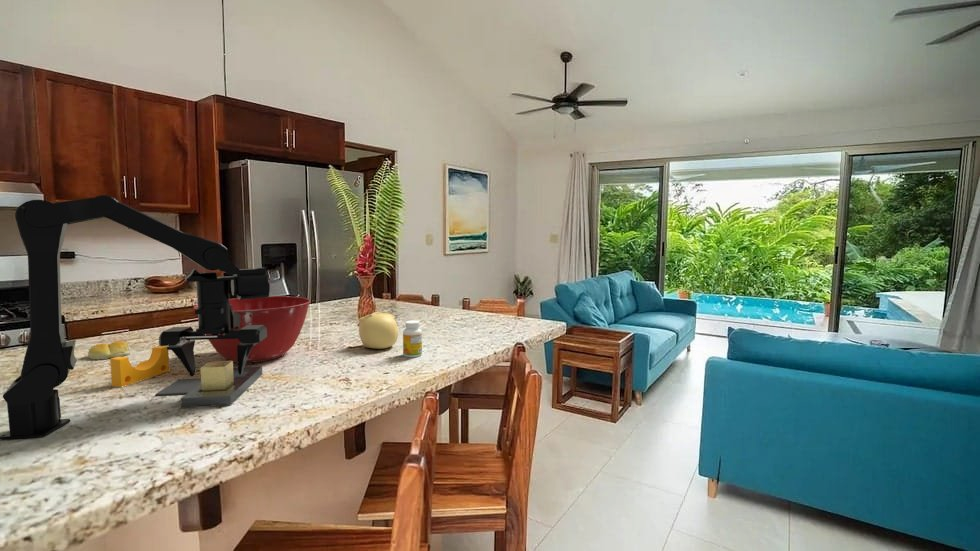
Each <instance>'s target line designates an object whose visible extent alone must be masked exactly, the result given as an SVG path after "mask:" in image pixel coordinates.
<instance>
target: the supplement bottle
mask: <svg viewBox="0 0 980 551" xmlns="http://www.w3.org/2000/svg"><path fill="white" fill-rule="evenodd" d="M404 326H405V328H404V329H403V331H402V349H403V350H402V355H403V356H404V357H405V358H418V357H421V356H423V331H422V329H421V328H420V321H419V320H407V321H405V325H404Z"/></svg>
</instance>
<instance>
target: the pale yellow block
mask: <svg viewBox="0 0 980 551" xmlns="http://www.w3.org/2000/svg"><path fill="white" fill-rule="evenodd" d="M233 368H234V362H233V361H231V360H217V361H216V360H214V361H209V362H207V363H206V364H204V365H202V366H201V367H200V378H201V385H202V392H211V391H228V390H229V389H230V388H231V387H232V386H234V374H233Z"/></svg>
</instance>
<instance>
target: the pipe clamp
mask: <svg viewBox="0 0 980 551" xmlns="http://www.w3.org/2000/svg"><path fill="white" fill-rule="evenodd" d="M167 347H168V346H159V345H156V346H154V347H153V346H152V347H151V354H150V356H149V358H148V359H147V360H143V361H140V362H139V363H138V364H136V365H135V366H134V367H133V365H132V364H131V363H130V360H129V357H127V356H123V357H116V358H109V361H110V373H111V374H110V376H111V387H113V386H120V387H119V388H123V387H122V386H124V387H126V386H125V385H127V386H130V385H133V384H135V382H136V383H138V382H137V381H139V382H141V381H140V380H142V381H144V380H147V379H150V378H153V377H156V376H159V375H162V374H164V372H165V373H168V372H170V358H169V357H170V356H169V350H167ZM167 371H168V372H167ZM161 373H162V374H161ZM158 374H159V375H158ZM155 375H156V376H155ZM152 376H153V377H152ZM149 377H150V378H149ZM146 378H147V379H146ZM143 379H144V380H143ZM132 383H133V384H132ZM129 384H130V385H129Z"/></svg>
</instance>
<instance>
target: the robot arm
mask: <svg viewBox="0 0 980 551" xmlns="http://www.w3.org/2000/svg"><path fill="white" fill-rule="evenodd" d="M14 217H15V221H16V224H17V228H18V232H19V235H20V236H19V237H21V240H22V243H23V246H24V249H25V251H26V254H27V262H28V263H27V267H28V268H27V269H28V272H27V274H28V298H29V299H28V300H29V301H28V302H29V330H30V336H29V341H28V344H27V347H26V351H25V355H24V357H23V358H24V359H23V363H22V367H21V371H20V375H19V376H17V378H16V379H14V380H13V381H12V383H11V384H10V385H9V387H8V388H7V390H6V391H5V392H4V393H3V395H2V399H3V400H4V401H5V403H6V406H7V408H6V409H7V417H8V428H9V429H8V430H9V431H8V432H5V433H3V434H1V435H0V440H12V439H13V440H14V439H27V438H42V437H45V436H47V435H49V434H51V433H53V432H54V431H57V430H58V429H59V428H61V427H63V426H65V425H66V424H69V423H70V422H71V418H62V412H61V403H60V402H61V401H60V396H59V390H58V389H56V388H57V387H59V386H60V385H62V384H63V383H65V381H66V379H67V378H68V376H69V373H70V372H71V371H72V370H74V369H75V366H76V364H77V362H78V359H77V358H76V356H75V347H76V343H77V342H76V340H75V339H72V340H67V341H66V339H65V336H64V332H63V329H62V328H63V327H62V324H63V322H62V294H61V292H62V290H61V289H62V288H61V286H62V284H61V260H60V259H61V251H62V248H63V244H64V240H65V236H66V232H67V228H68V227H67V226H68V225H72V224H79V223H84V222H88V221H89V222H90V221H93V220H99V219H108V220H111V221H112V222H114V223H117V224H119V225H121V226H123V227H126V228H128V229H130V230H133V231H135V232H137V233H139V234H141V235H144V236H146V237H148V238H150V239H153V240H155V241H157V242H159V243H162V244H164V245H166V246H168V247H170V248H172V249H174V250H175V251H177V252H179V253H180V254H181V255H183V256H184V257H186V258H188V259H189V260H191V261H192V262H194V263H195V264H196V265H198V266H200V267H202V268H203V269H205V270H209V271H213V272H199V271H198V270H196V269H195V268H193V269H192V270H191V272H190V273H189V274H188V275H186V276H185V277H184V280H185V281H186V282H187V283H195V284H196V299H197V300H196V301H197V304H196V305H197V306H198V308H197V309H194V314H195V315H197V314H198V315H197V320H198V323H197V324H198V325H197V326H198V328H196V329H195V330H194V328H193V327H192V326H173V327H170V328H168V329H166V330H163V331H161V333H160V334H159V336H158V346H168V347H167V350H168V351H172V353H173V354H174V355H175V356H176V357H177V358H178V359H179V361H180V362H181V364H182V365H183V366H184V368H185V370H186V371H187V373H188V374H189V376H190V377H191V378H193V377H195V376H196V361H195V351H194V349H195V348H194V347H195V343H196V341H198V340H199V341H200V340H202V341H204V340H205V341H206V340H208V339H238V340H239V341H240V342H241V343H240V344H238V345H237V360H238V362H237V367H238V372H239V375H240V374H242V373H243V370H244V367H246V364H247V363H246V361H247V358H248V355H249V353H250V351H251V349H252V347H253V346H254V345H256V344H257V343H259V342H261V341H262V340H263V339H265V338H266V337H267V329H266V327H265V326H264V325H246V326H245V327H243V328H241V329H240V330H231V328H233V329H239V328H240V317H241V315H240V314H238V313H236V312H233V309H232V304H230V299H231V298H230V290H231V295H232V296H235V297H236V296H237V297H236V298H238V299H239V300H246V299H260V298H268V297H269V296H270V292H271V291H270V290H271V288H270V282H269V279H268V274H267V269H266V268H265V267H255V268H240V269H239V267H238V265H236V263H234V262H233V261H232V260H231V259H230V252H229V249H228V248H227V247H226V246H225V245H223V244H222V243H220V242H217V241H213V240H211V239H207V238H204V237H200V236H196V235H194V234H191V233H187V232H184V231H181V230H180V229H178V228H176V227H173V226H171V225H169V224H167V223H165V222H163V221H160V220H158V219H157V218H154V217H152V216H150V215H148V214H147V213H146V214H145V213H143V212H142V211H140V210H137V209H135V208H133V207H132V206H129V205H127V204H125V203H123V202H121V201H119V200H118V199H117V198H115V197H114V196H111V195H106V194H101V195H96V196H94V197H89V198H80V199H73V200H65V201H59V202H52V201H49V200H43V199H31V200H28V201H25V202H24V203H22V204H21V205H18V207H17V208H16V210H15V213H14ZM217 270H219V271H220V272H222V273H225V274H227V275H229V276H227V275H226V276H218V275H217V272H214V271H217ZM229 282H230V283H229ZM229 284H230V285H229ZM230 288H231V289H230ZM206 334H212V335H206ZM219 334H220V335H219ZM221 334H222V335H221ZM223 334H225V335H223ZM208 341H209V340H208Z"/></svg>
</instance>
